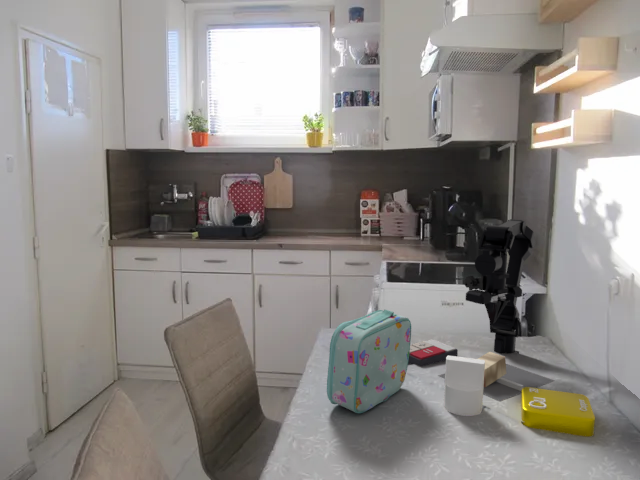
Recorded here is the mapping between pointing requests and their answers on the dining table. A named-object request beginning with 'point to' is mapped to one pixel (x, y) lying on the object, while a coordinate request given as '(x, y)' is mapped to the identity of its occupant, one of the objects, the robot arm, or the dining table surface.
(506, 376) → the mat
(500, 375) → the beech block
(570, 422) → the element tile
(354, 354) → the lunch box
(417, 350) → the calculator
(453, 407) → the cylinder with rectangular tab
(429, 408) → the dining table surface
